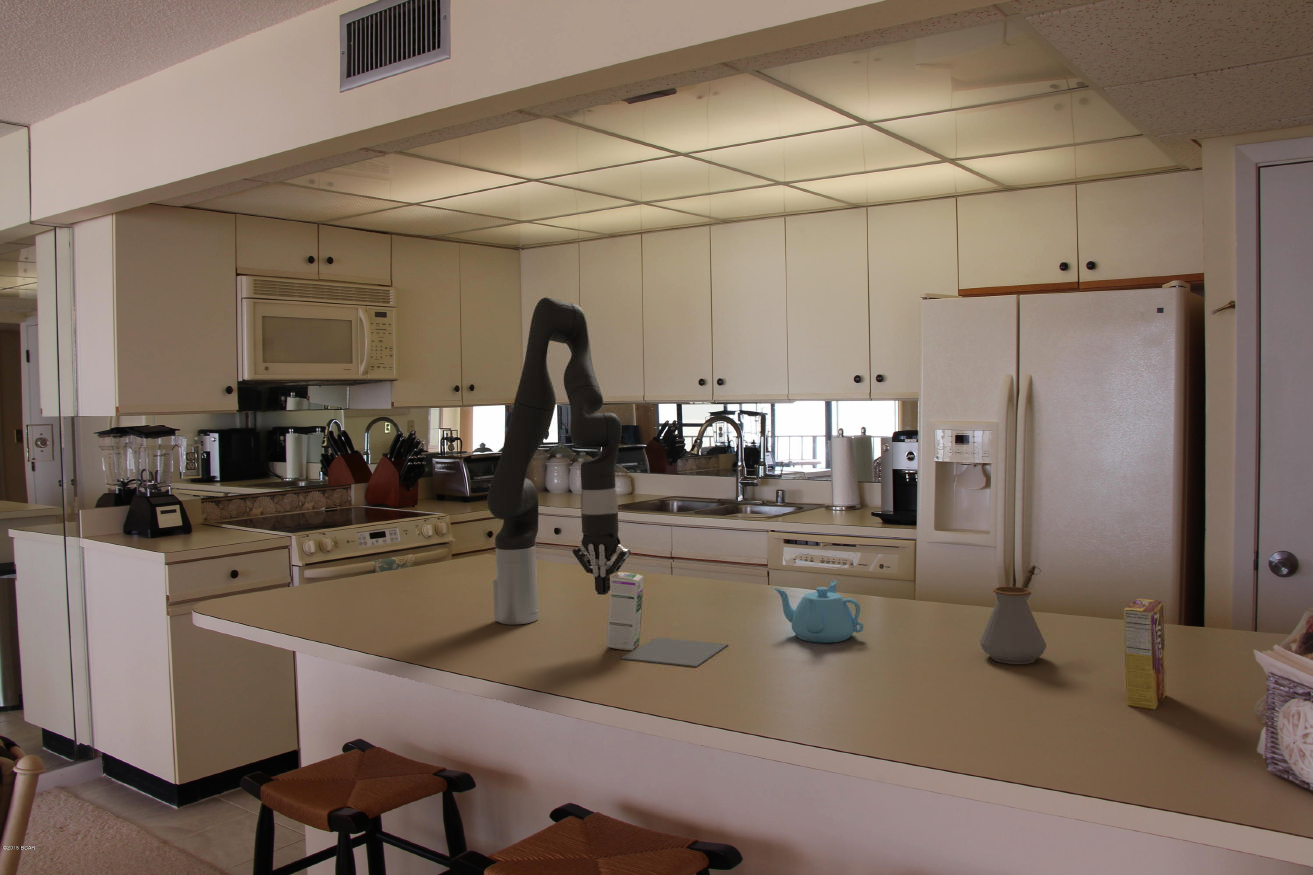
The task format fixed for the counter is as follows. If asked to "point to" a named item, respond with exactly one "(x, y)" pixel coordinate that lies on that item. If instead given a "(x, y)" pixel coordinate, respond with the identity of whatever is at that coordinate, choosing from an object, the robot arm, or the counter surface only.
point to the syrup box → (625, 611)
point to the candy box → (1145, 653)
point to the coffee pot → (1013, 627)
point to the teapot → (822, 615)
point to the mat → (675, 652)
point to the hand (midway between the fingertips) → (603, 593)
